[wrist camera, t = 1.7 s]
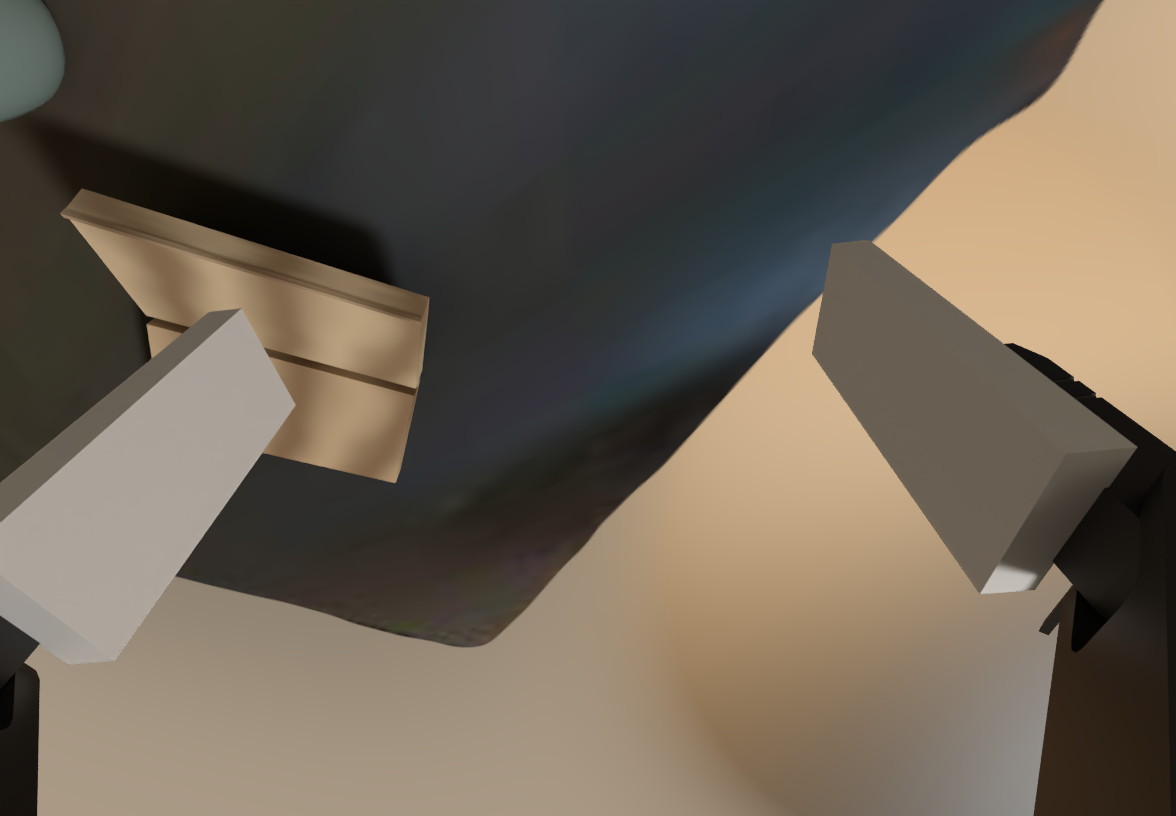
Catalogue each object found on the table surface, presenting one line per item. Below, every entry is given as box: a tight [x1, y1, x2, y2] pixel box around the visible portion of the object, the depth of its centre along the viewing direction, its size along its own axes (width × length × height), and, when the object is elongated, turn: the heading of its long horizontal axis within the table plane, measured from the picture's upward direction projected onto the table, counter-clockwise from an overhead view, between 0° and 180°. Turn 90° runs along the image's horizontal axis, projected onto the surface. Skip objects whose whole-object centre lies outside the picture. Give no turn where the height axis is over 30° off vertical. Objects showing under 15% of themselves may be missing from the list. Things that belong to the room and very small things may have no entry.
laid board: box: [147, 318, 420, 483], centre depth 41 cm, size 18×11×2 cm, turn 69°
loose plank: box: [60, 189, 429, 389], centre depth 33 cm, size 18×10×2 cm, turn 69°
